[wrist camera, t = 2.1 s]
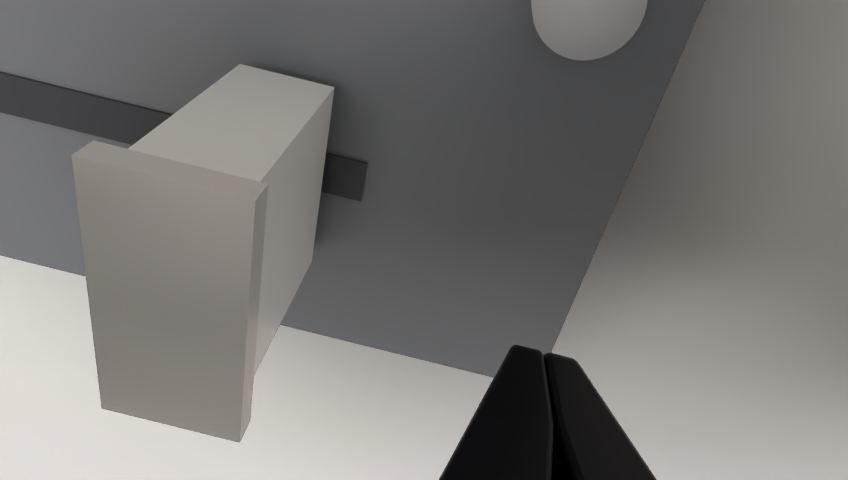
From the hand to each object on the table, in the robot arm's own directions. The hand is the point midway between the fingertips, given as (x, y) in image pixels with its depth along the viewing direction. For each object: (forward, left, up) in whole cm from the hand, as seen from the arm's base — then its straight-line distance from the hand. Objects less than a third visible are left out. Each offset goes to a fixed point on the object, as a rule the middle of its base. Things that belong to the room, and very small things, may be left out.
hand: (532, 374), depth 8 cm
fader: (+5, 0, -4) cm, 6 cm away
